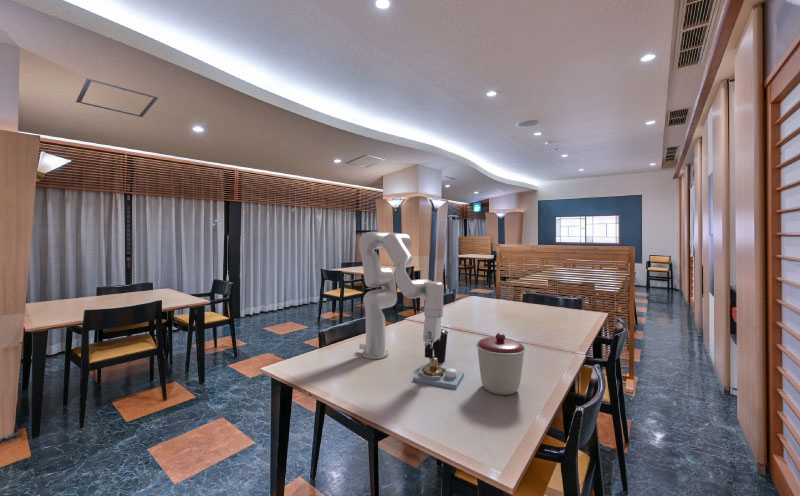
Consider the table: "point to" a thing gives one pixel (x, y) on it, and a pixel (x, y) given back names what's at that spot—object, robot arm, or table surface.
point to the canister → (500, 363)
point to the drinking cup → (442, 347)
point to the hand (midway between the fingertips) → (432, 353)
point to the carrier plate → (440, 378)
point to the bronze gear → (434, 368)
